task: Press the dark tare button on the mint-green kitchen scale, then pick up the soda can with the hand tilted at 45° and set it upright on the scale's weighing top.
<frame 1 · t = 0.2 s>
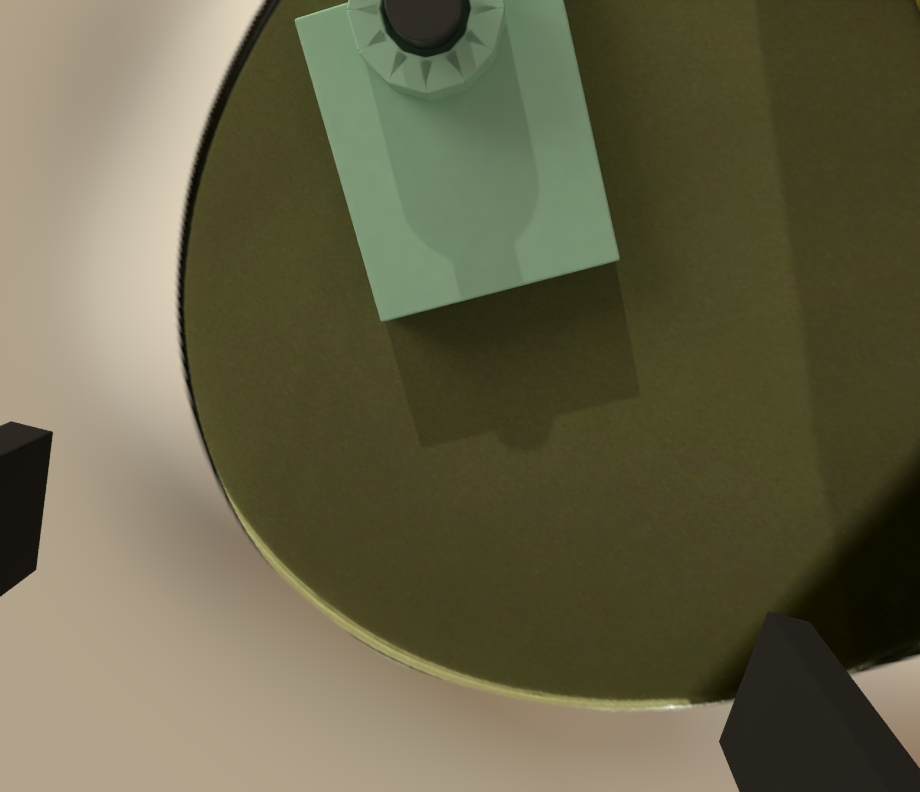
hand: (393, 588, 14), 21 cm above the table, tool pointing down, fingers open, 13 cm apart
scale: (463, 146, 32), on the table
tare button: (424, 5, 27), point 4 cm above the table, slide at 0.1 cm
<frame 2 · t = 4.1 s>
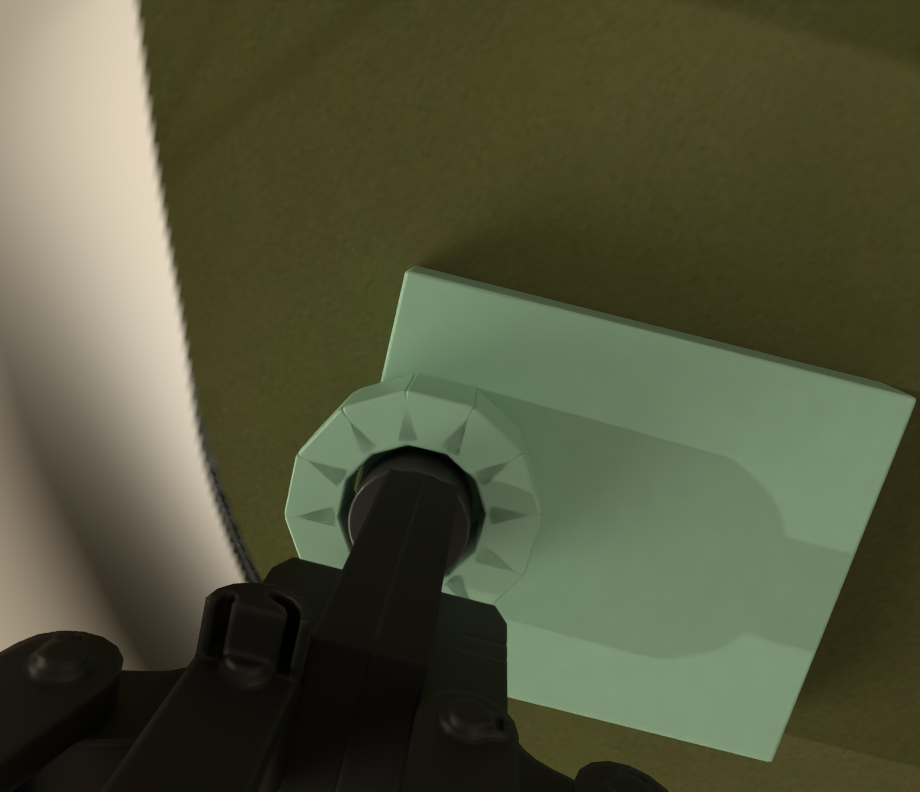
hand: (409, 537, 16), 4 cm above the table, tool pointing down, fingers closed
scale: (592, 506, 20), on the table
tare button: (412, 513, 17), point 3 cm above the table, slide at -0.5 cm, touching gripper
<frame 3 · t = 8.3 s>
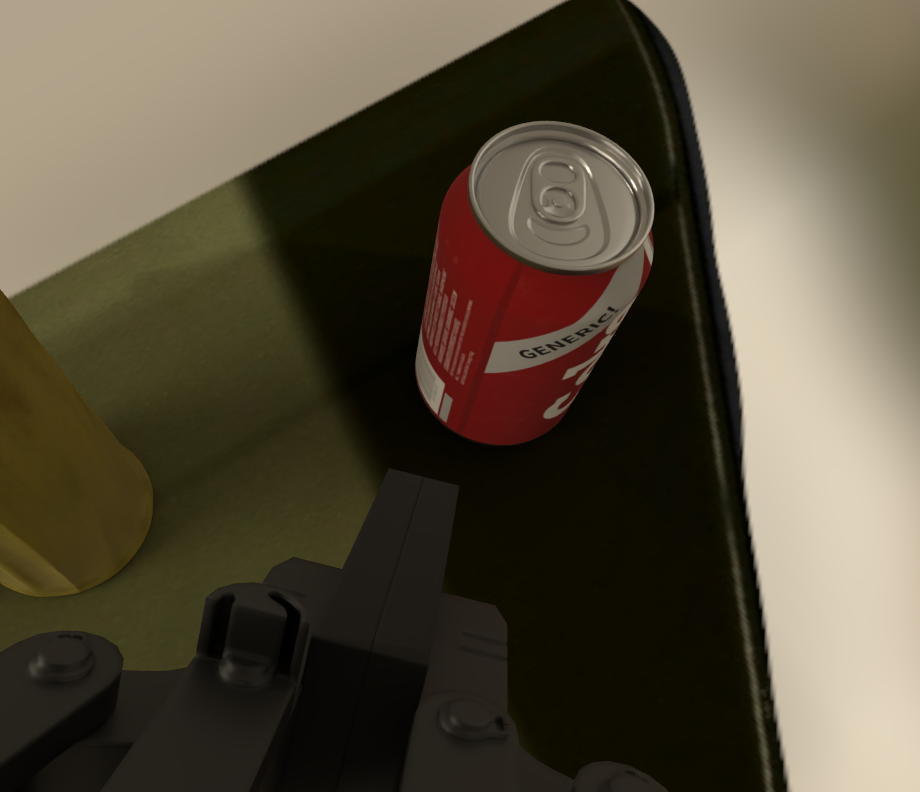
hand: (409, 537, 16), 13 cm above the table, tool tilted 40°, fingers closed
vase: (69, 515, 28), on the table
soda can: (491, 381, 33), on the table
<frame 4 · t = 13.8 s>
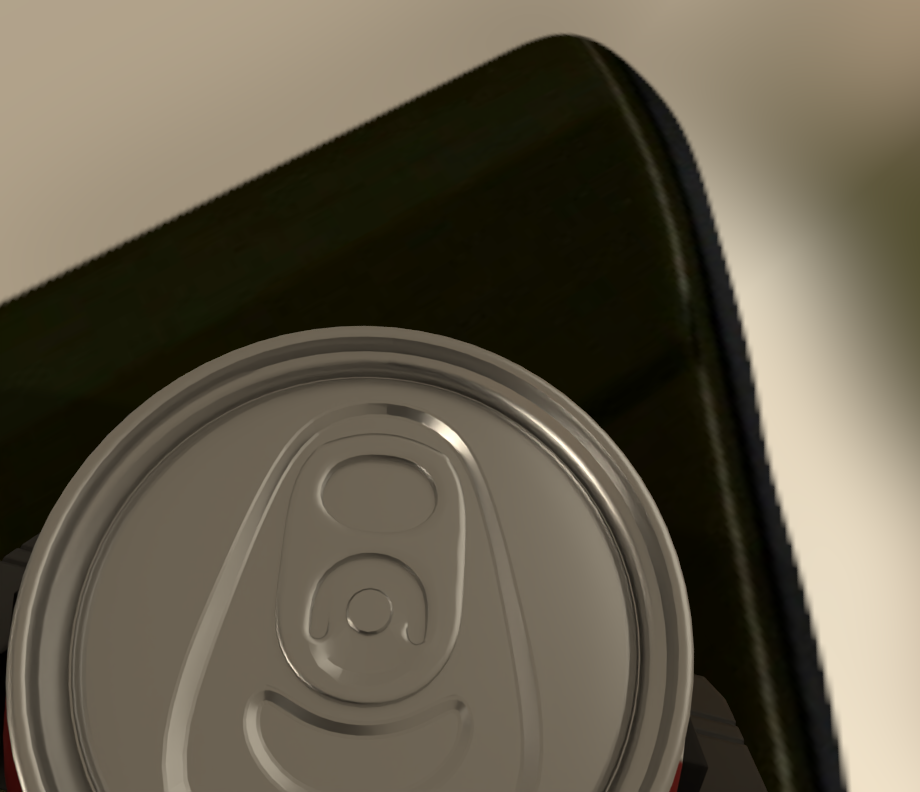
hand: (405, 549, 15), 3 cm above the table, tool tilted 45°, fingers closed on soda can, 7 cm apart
soda can: (354, 757, 17), on the table, touching gripper
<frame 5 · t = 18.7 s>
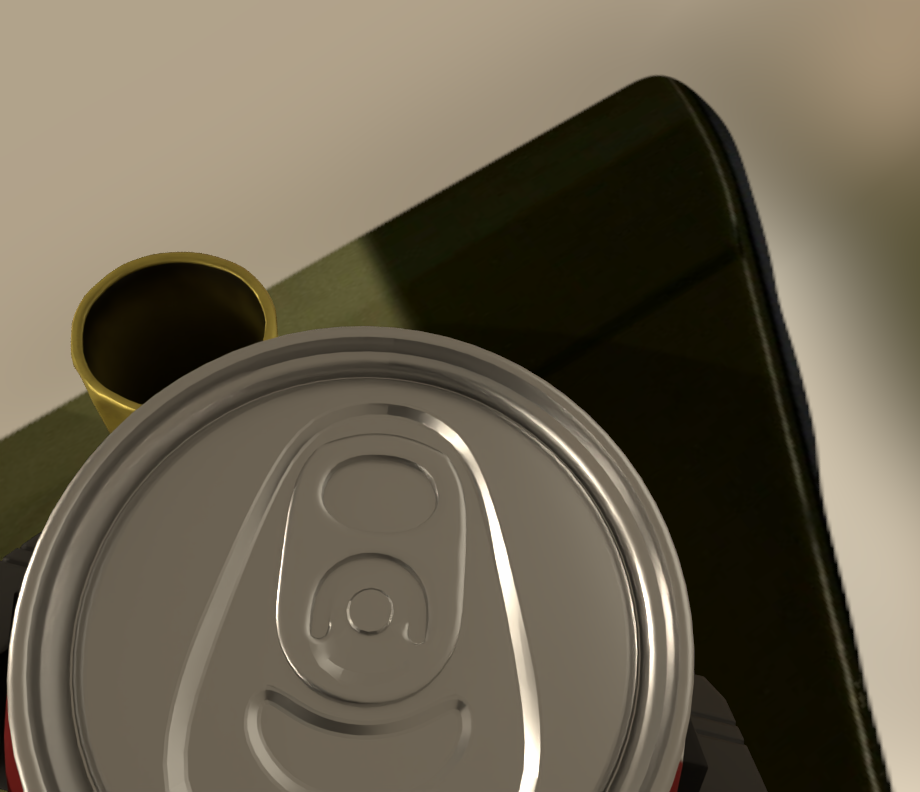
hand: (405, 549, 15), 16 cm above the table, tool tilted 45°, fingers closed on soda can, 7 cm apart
vase: (240, 528, 32), on the table
soda can: (355, 757, 17), point 13 cm above the table, touching gripper
when the fingers open (5 cm above the table, at t = 23.9 s): soda can stays where it is, resting on scale.
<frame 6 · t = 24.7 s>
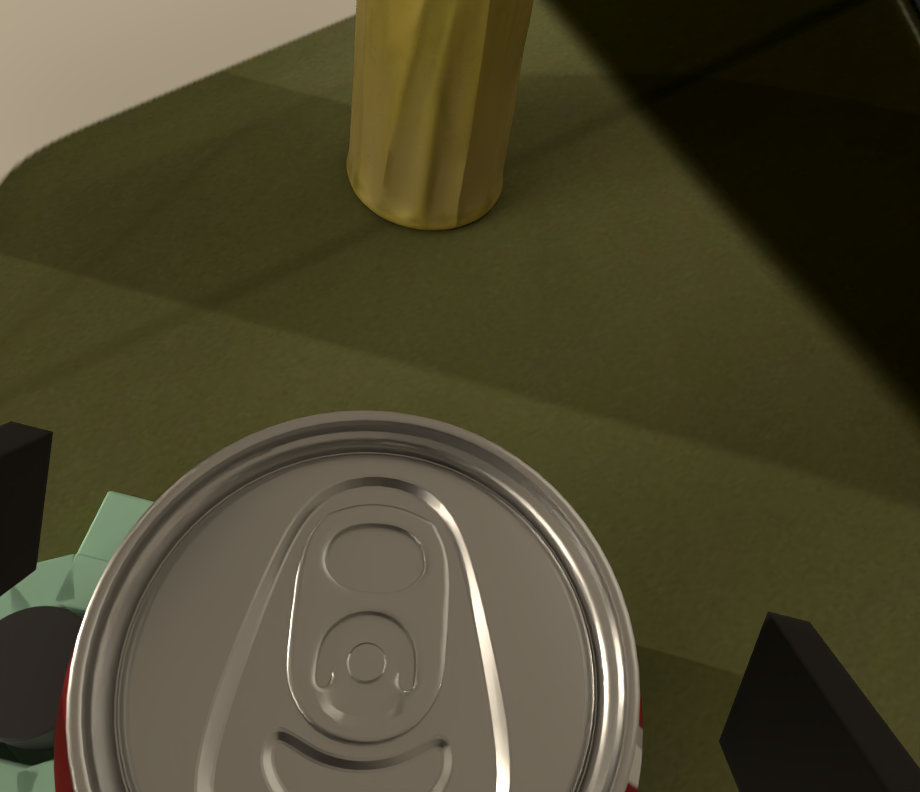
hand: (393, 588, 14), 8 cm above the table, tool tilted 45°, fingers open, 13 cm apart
vase: (424, 179, 30), on the table
scale: (269, 752, 19), on the table
tare button: (42, 678, 16), point 4 cm above the table, slide at 0.1 cm
soda can: (354, 772, 18), point 2 cm above the table, touching scale
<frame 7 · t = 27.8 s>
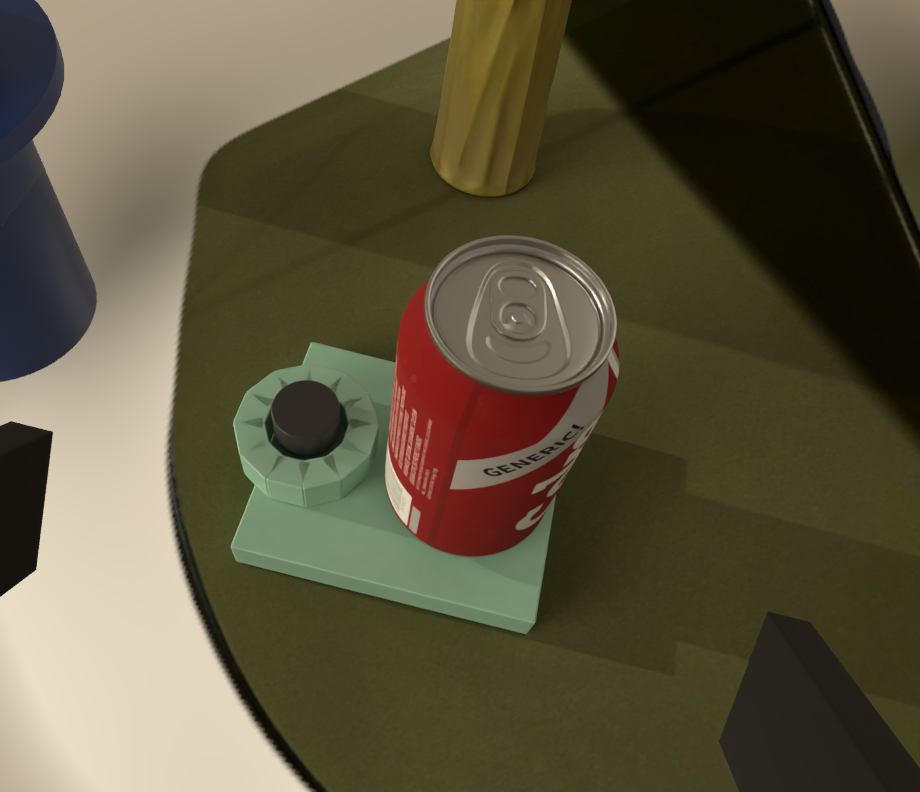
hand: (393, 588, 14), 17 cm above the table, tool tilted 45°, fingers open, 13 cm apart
vase: (481, 163, 45), on the table
scale: (411, 487, 33), on the table
tare button: (306, 418, 30), point 4 cm above the table, slide at 0.1 cm
soda can: (465, 487, 32), point 2 cm above the table, touching scale
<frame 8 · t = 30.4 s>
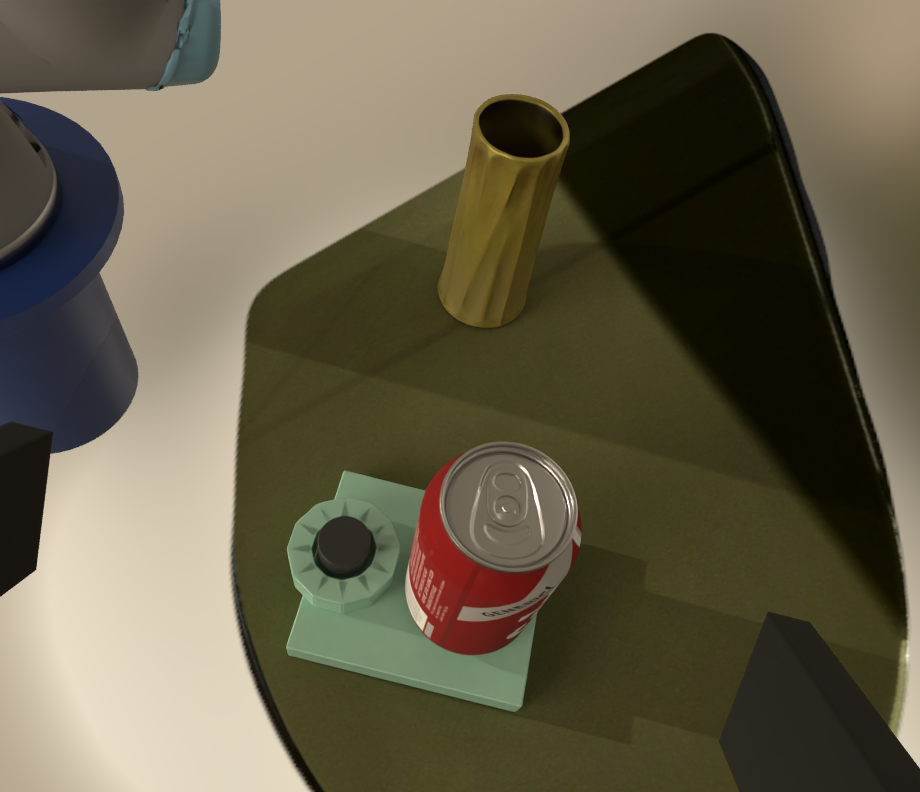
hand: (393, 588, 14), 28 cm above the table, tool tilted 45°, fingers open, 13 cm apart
vase: (480, 295, 53), on the table
scale: (424, 590, 42), on the table
tare button: (344, 545, 39), point 4 cm above the table, slide at 0.1 cm
soda can: (467, 593, 41), point 2 cm above the table, touching scale
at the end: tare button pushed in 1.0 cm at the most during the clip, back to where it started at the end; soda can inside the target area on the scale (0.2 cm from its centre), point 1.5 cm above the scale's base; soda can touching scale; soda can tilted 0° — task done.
